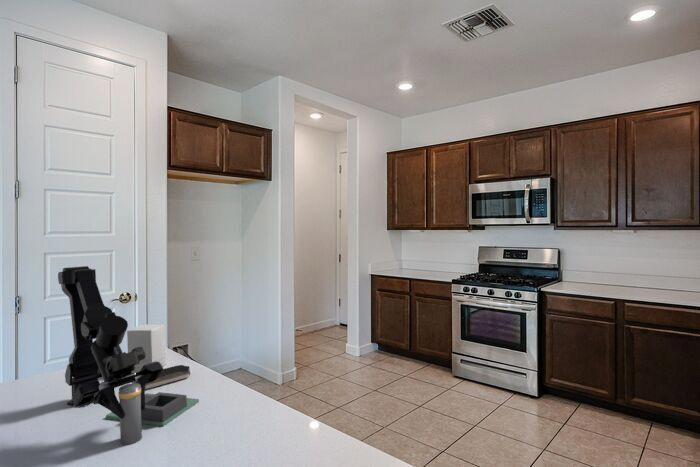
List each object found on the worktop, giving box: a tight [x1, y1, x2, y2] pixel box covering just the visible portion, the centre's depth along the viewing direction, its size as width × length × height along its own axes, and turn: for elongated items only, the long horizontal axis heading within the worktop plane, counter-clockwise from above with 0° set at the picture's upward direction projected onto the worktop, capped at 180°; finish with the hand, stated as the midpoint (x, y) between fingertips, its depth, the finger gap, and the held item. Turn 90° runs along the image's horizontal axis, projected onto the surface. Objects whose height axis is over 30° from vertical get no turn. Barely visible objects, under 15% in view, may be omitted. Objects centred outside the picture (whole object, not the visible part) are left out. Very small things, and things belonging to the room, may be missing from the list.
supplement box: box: [126, 323, 167, 374], centre depth 140 cm, size 9×9×15 cm
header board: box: [105, 391, 200, 427], centre depth 108 cm, size 18×14×4 cm
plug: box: [118, 383, 143, 446], centre depth 93 cm, size 5×5×12 cm
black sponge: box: [145, 364, 191, 390], centre depth 128 cm, size 16×8×4 cm, turn 134°
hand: (133, 413), depth 92 cm, fingers closed on plug, 4 cm apart
